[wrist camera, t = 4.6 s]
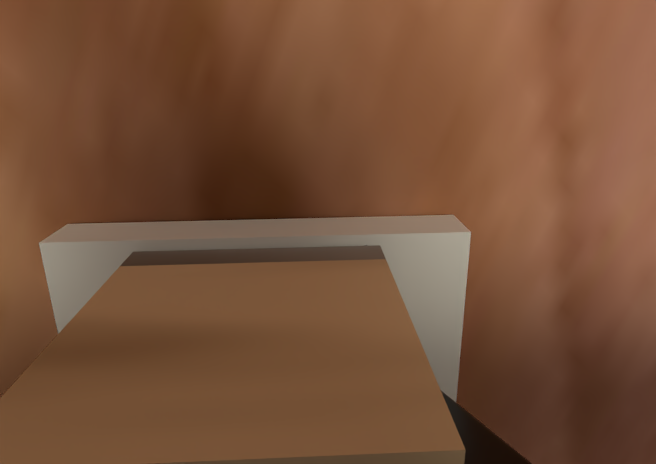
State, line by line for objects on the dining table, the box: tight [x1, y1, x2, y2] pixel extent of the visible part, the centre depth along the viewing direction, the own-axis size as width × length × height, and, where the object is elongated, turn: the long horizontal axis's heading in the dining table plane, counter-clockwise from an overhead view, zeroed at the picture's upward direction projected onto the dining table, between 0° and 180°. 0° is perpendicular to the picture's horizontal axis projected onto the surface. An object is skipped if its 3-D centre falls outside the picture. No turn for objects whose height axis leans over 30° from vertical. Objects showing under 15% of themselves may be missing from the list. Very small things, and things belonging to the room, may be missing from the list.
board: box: [39, 215, 471, 402], centre depth 10 cm, size 10×7×1 cm
